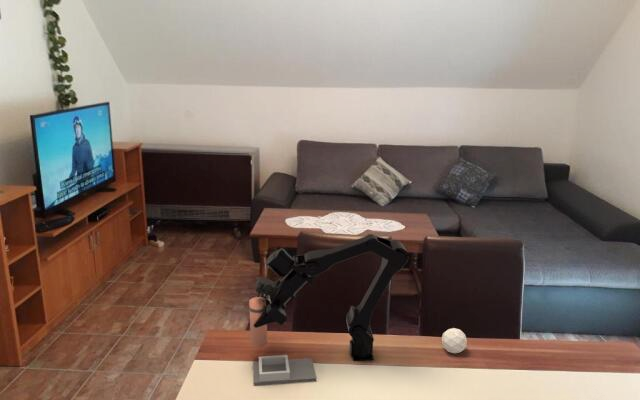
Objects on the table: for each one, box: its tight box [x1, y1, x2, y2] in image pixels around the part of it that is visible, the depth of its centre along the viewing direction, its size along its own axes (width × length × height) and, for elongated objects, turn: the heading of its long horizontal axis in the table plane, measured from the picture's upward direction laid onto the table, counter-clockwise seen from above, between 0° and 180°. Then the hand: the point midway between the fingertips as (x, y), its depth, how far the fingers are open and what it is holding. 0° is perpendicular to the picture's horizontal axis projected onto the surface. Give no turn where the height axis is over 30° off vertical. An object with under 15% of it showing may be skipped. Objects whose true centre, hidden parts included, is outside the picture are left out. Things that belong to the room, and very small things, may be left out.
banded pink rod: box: [248, 296, 268, 348], centre depth 152 cm, size 5×5×14 cm
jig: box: [252, 354, 317, 387], centre depth 149 cm, size 18×10×4 cm, turn 98°
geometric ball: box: [441, 327, 468, 354], centre depth 162 cm, size 8×8×8 cm
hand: (253, 322), depth 152 cm, fingers closed on banded pink rod, 5 cm apart
